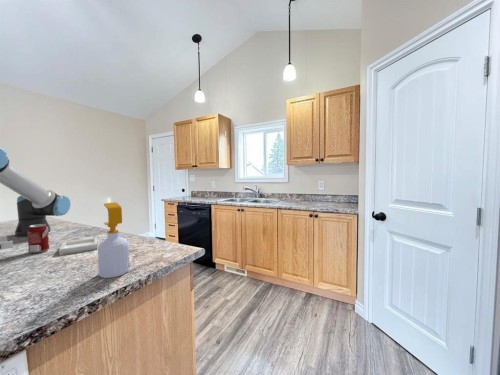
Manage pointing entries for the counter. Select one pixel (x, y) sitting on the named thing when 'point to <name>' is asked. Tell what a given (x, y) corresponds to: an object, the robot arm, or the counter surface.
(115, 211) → the soap bottle
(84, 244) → the square tray
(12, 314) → the counter surface
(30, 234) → the soda can
